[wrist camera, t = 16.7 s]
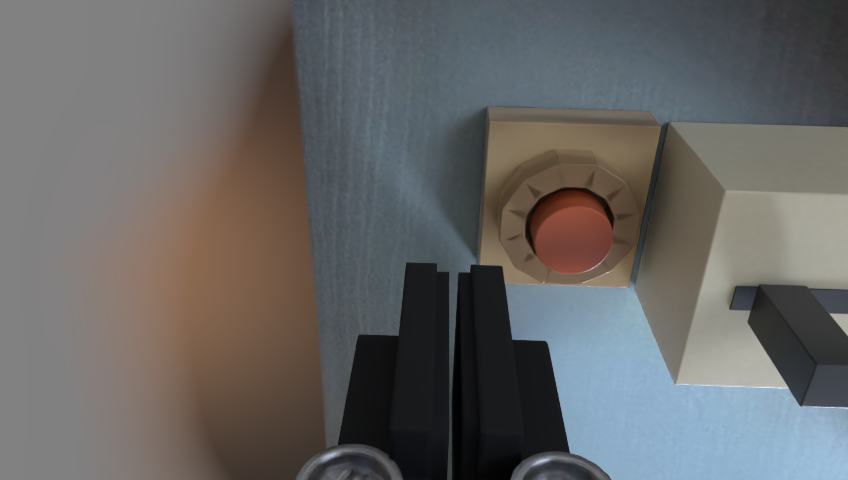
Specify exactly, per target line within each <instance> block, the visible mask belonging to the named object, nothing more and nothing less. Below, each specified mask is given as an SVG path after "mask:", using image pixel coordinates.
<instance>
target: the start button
mask: <svg viewBox="0 0 848 480" xmlns="http://www.w3.org/2000/svg"><path fill="white" fill-rule="evenodd" d="M530 229H531V235H532V239H533V244H534V249H535V252H536V255H537V257H538V258H539V260H540V261H541V262H542V263H543V264H544V265H545V266H546V267H548V268H549V269H551V270H553V271H555V272H558V273H563V274H579V273H583V272H586V271H589V270H591V269H593V268H594V267H596V266H598V265H599V264H600V263H601V262H602V261H603V260H604V259H605V258H606V257H607V255H608V254H609V252H610V250H611V247H612V244H613V230H612V227H611V224H610V222H609V219H608V217H607V215H606V213H605V210H604V208H603V206H602V205H601V203H600V202H599V201H598V200H597V199H596V198H595V197H593V196H592V195H590V194H588V193H585V192H582V191H576V190H567V191H561V192H557V193H555V194H552V195H551V196H549V197H547V198H546V199H544V200H543V201H542V202H541V203H540V204H539V205H538V206H537V208H536V209H535V211H534V213H533V215H532V218H531V223H530Z"/></svg>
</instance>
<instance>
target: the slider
mask: <svg viewBox="0 0 848 480" xmlns="http://www.w3.org/2000/svg"><path fill="white" fill-rule="evenodd" d="M747 323H748V325H749V326H750V328H751V329H752V331H753V332H754V334H755V336H756V337H757V339H758V340H759V342H760V344H761V345H762V347H763V348H764V350H765V351H766V353H767V355H768V356H769V358H770V359H771V361H772V362H773V364H774V366H775V367H776V369H777V370H778V372H779V374H780V375H781V377H782V378H783V380H784V381H785V383H786V385H787V386H788V388H789V389H790V391H791V393H792V394H793V396H794V397H795V399H796V400H797V402H798V404H799V405H800V406H801V407H824V408H848V336H847V334H846V333H845V332H844V331H843V330H842V328H841V327H840V326H839V325H838V323H837V322H836V321H835V320H834V319H833V317H832V316H831V315H830V314H829V312H828V311H827V310H826V309H825V308H824V306H823V305H822V304H821V303H820V302H819V300H818V299H817V298H816V297H815V295H814V294H813V293H812V292H811V291H810V289H809V288H808V287H807V286H800V285H770V284H759V286H758V289H757V292H756V295H755V299H754V302H753V305H752V308H751V311H750V315H749V318H748V321H747Z"/></svg>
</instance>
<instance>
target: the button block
mask: <svg viewBox="0 0 848 480" xmlns="http://www.w3.org/2000/svg"><path fill="white" fill-rule="evenodd" d="M660 131H661V126H660V124H659V123H658V122H657V121H656V119H655V118H654V117H653V115H652V114H651V113H650V112H649V111H623V110H589V109H555V108H522V107H487V113H486V128H485V142H484V157H483V172H482V187H481V201H480V216H479V231H478V245H477V260H476V263H477V265H497V266H502V267H503V274H504V281H505V284H527V285H556V286H586V287H615V288H629V286H630V281H631V276H632V271H633V266H634V261H635V256H636V251H637V246H638V241H639V236H640V231H641V226H642V221H643V216H644V211H645V206H646V201H647V196H648V191H649V186H650V181H651V176H652V171H653V166H654V161H655V156H656V151H657V146H658V141H659V136H660ZM567 190H576V191H582V192H585V193H588V194H590V195H592V196H593V197H595V198H596V199H597V200H598V201H599V202H600V203H601V205H602V206H603V208H604V210H605V213H606V215H607V217H608V219H609V222H610V224H611V227H612V230H613V244H612V247H611V250H610V252H609V254H608V255H607V257H606V258H605V259H604V260H603V261H602V262H601V263H600V264H599V265H598V266H596V267H594V268H593V269H591V270H589V271H586V272H583V273H579V274H563V273H558V272H555V271H553V270H551V269H549V268H548V267H546V266H545V265H544V264H543V263H542V262H541V261H540V260H539V258H538V257H537V255H536V252H535V249H534V244H533V239H532V235H531V229H530V223H531V218H532V215H533V213H534V211H535V209H536V208H537V206H538V205H539V204H540V203H541V202H542V201H543V200H544V199H546V198H547V197H549V196H551V195H552V194H555V193H557V192H561V191H567Z"/></svg>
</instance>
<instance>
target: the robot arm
mask: <svg viewBox="0 0 848 480" xmlns="http://www.w3.org/2000/svg"><path fill="white" fill-rule="evenodd" d="M448 445H449V272H437V263H406V270H405V280H404V290H403V299H402V309H401V319H400V329H399V336H388V335H359V336H358V340H357V344H356V350H355V355H354V361H353V366H352V371H351V377H350V382H349V388H348V393H347V398H346V404H345V409H344V414H343V420H342V425H341V431H340V436H339V441H338V446H333V447H330V448H328V449H326V450H324V451H322V452H320V453H317V454H316V455H315V456H313V457H312V458H311V459H310V460H309V461H307V462H306V463H305V464H304V466H303V468H302V469H301V471H300V472H299V474H298V475H297V477H296V479H295V480H447V464H448ZM452 480H611V479H610V477H609V476H608V475H607V474H606V473H605V472H604V471H603V470H602V469H601V468H600V467H598V466H597V465H596V464H594V463H593V462H591V461H589V460H587V459H585V458H583V457H581V456H578V455H574V454H571V453H570V451H569V447H568V442H567V437H566V432H565V427H564V422H563V417H562V412H561V407H560V402H559V397H558V392H557V387H556V382H555V377H554V372H553V367H552V362H551V357H550V352H549V348H548V344H547V342H546V341H530V340H512V335H511V327H510V320H509V312H508V304H507V297H506V289H505V281H504V274H503V267H502V266H497V265H471V268H470V273H462V272H459V274H458V291H457V310H456V329H455V347H454V366H453V385H452Z"/></svg>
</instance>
